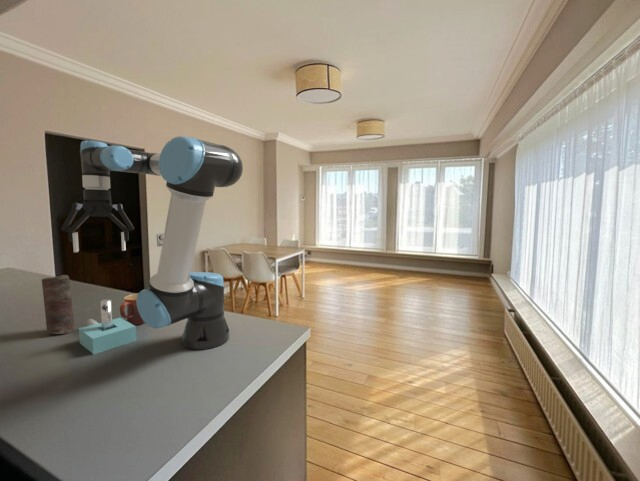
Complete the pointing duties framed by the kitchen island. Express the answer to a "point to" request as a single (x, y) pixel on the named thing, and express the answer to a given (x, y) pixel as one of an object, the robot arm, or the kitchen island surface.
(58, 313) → the brown mottled cylinder
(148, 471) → the kitchen island surface
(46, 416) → the kitchen island surface
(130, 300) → the mug
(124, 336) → the chuck block
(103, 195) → the robot arm
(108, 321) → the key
